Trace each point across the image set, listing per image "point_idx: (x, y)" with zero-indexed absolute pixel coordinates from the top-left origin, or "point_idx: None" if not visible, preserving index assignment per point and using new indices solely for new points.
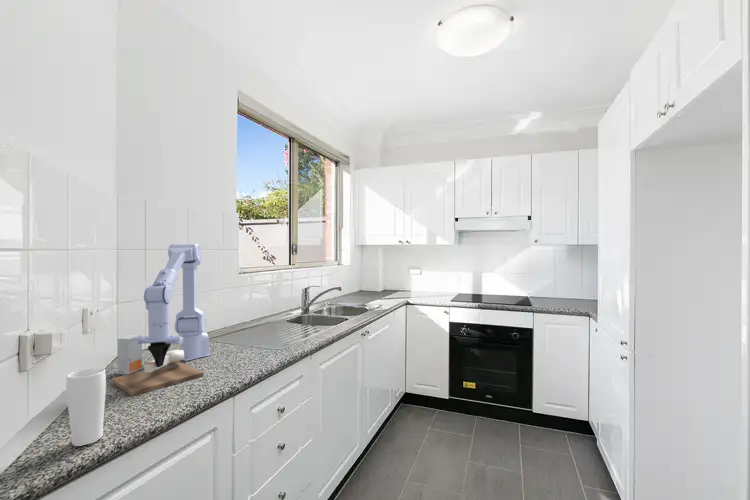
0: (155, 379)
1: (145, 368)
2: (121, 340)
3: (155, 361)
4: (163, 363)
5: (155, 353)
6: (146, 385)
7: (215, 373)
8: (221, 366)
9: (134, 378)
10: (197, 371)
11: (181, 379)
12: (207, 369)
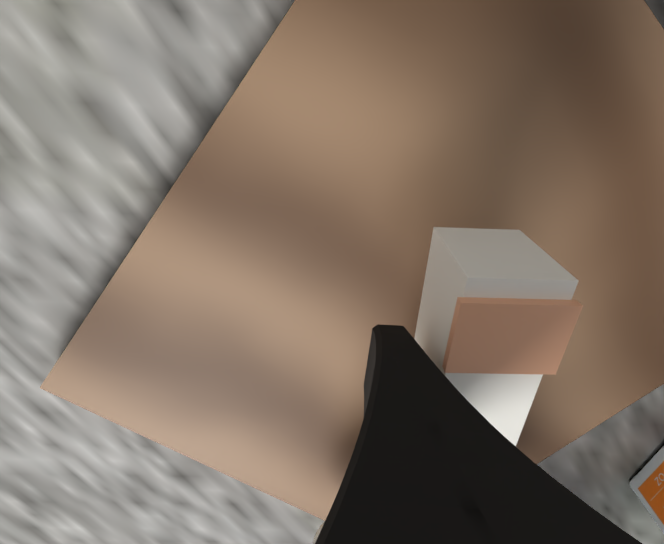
0: (384, 232)
1: (529, 253)
2: None
3: (434, 370)
4: None
5: (462, 487)
6: (384, 39)
7: (6, 408)
8: (83, 512)
9: (613, 265)
10: (112, 403)
11: (132, 247)
12: (142, 472)
